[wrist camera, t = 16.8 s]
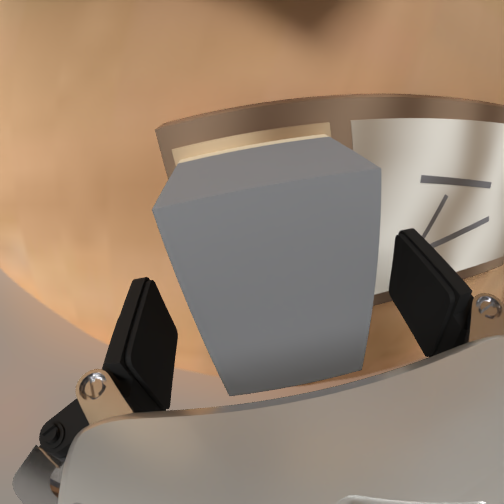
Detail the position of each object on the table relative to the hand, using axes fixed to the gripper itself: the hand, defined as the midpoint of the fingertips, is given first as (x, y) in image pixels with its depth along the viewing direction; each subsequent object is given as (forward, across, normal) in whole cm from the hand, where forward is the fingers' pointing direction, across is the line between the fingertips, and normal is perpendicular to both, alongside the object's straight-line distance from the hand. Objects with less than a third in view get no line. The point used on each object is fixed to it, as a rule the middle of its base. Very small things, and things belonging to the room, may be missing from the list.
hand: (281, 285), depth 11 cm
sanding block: (+3, 0, 0) cm, 3 cm away
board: (+6, -7, 0) cm, 9 cm away
